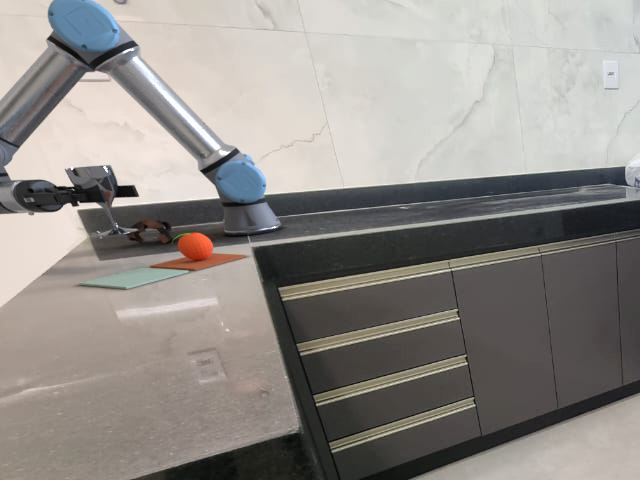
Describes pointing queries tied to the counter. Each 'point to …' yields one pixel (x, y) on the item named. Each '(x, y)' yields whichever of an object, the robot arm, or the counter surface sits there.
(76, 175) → the wine glass
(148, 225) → the brown segmented ring
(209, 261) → the fruit mat
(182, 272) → the glass mat
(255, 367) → the counter surface
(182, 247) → the clementine
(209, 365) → the counter surface
